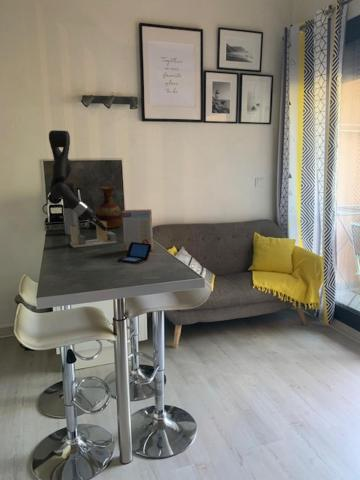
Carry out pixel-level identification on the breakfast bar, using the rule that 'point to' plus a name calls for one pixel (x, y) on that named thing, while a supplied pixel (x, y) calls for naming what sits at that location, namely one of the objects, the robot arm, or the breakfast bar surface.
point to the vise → (110, 236)
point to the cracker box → (137, 227)
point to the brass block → (101, 232)
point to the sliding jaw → (76, 236)
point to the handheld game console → (137, 253)
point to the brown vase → (109, 209)
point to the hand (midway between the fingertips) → (104, 228)
